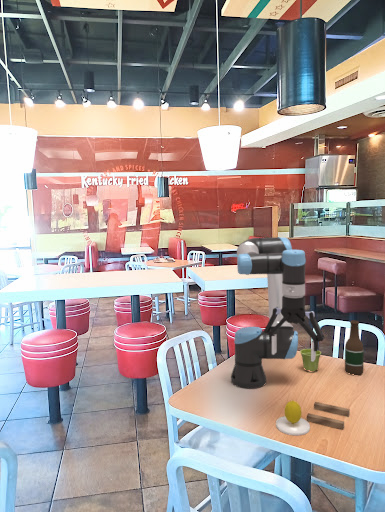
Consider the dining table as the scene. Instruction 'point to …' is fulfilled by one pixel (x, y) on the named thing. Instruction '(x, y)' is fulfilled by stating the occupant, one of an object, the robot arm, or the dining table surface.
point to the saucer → (292, 426)
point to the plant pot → (307, 359)
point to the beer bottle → (354, 351)
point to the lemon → (293, 412)
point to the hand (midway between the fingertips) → (293, 356)
